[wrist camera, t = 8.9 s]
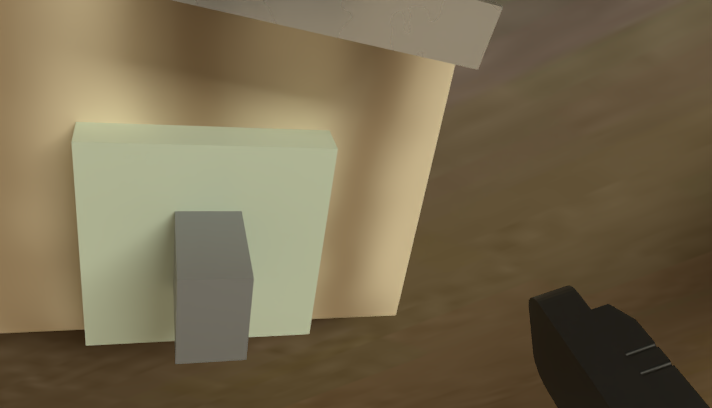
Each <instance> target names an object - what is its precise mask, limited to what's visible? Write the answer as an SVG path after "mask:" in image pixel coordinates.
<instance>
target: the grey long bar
mask: <svg viewBox="0 0 712 408" xmlns="http://www.w3.org/2000/svg"><path fill="white" fill-rule="evenodd" d="M173 1H177V2H182V3H186V4H190V5H195V6H199V7H204V8H208V9H213V10H217V11H221V12H226V13H230V14H235V15H239V16H243V17H248V18H252V19H257V20H261V21H265V22H270V23H274V24H279V25H283V26H288V27H292V28H296V29H301V30H305V31H310V32H314V33H318V34H323V35H327V36H332V37H336V38H340V39H345V40H349V41H354V42H358V43H363V44H367V45H371V46H376V47H380V48H385V49H389V50H393V51H398V52H402V53H407V54H411V55H415V56H420V57H424V58H429V59H433V60H438V61H442V62H446V63H451V64H455V65H460V66H464V67H468V68H473V69H477V70H478V68H479V66H480V63H481V61H482V58H483V56H484V53H485V51H486V48H487V46H488V43H489V41H490V38H491V36H492V33H493V31H494V28H495V26H496V23H497V21H498V18H499V16H500V13H501V11H502V8H503V7H502V6H501V5H499V4H498V3H496V2H495V1H494V0H173Z"/></svg>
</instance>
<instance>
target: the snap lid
mask: <svg viewBox="0 0 712 408" xmlns="http://www.w3.org/2000/svg"><path fill="white" fill-rule="evenodd" d="M71 143H72V157H73V171H74V186H75V200H76V214H77V228H78V243H79V257H80V271H81V285H82V299H83V314H84V328H85V342H86V346H89V345H108V344H127V343H146V342H165V341H175V364H184V363H201V362H217V361H233V360H246V358H247V347H248V337H261V336H280V335H300V334H309V333H310V326H311V320H312V313H313V307H314V300H315V294H316V287H317V281H318V274H319V268H320V261H321V255H322V248H323V242H324V235H325V229H326V223H327V216H328V210H329V203H330V197H331V190H332V184H333V177H334V171H335V164H336V158H337V151H338V148H337V146H336V143H335V141H334V139H333V137H332V135H331V133H330V130H303V129H273V128H243V127H213V126H183V125H154V124H124V123H94V122H76V124H75V128H74V133H73V137H72V141H71Z"/></svg>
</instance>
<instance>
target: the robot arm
mask: <svg viewBox="0 0 712 408" xmlns="http://www.w3.org/2000/svg"><path fill="white" fill-rule="evenodd" d="M529 313H530V324H531V334H532V345H533V354H534V359H535V363H536V366H537V369H538V372H539V375H540V377H541V379H542V381H543V383H544V385H545V387H546V389H547V390H548V392H549V394H550V395H551V397H552V399H553V400H554V402H555V404H556V405H557V407H558V408H710V407H709V406H708V405H707V404H706V403H705V401H704V400H703V399H702V398H701V397H700V396H699V394H698V393H697V392H696V391H695V390H694V388H693V387H692V386H691V385H690V384H689V382H688V381H687V380H686V379H685V378H684V377H683V375H682V374H681V373H680V372H679V371H678V369H677V368H676V367H675V366H672V364H671V362H670V360H669V359H668V357H667V356H666V355H665V354H664V353H663V352H662V350H661V349H660V348H659V347H656V345H655V342H654V341H653V340H652V338H651V337H650V336H649V335H648V334H647V333H646V331H645V330H644V329H643V328H642V327H641V325H640V324H639V323H638V322H637V321H636V320H635V319H633V318H632V317H630V316H628V315H627V314H625V313H623V312H621V311H620V310H618V309H616V308H615V307H613V306H611V305H609V304H607V305H604V306H601V307H598V308H595V309H592V310H591V309H590V308H589V306H588V305H587V304H586V302H585V301H584V300H583V299H582V297H581V296H580V295H579V293H578V292H577V291H576V290H575V289H574V288H573V287H571V286H565V287H562V288H559V289H556V290H553V291H550V292H547V293H544V294H541V295H538V296H535V297H532V298H530V299H529Z"/></svg>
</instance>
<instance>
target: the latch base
mask: <svg viewBox="0 0 712 408" xmlns="http://www.w3.org/2000/svg"><path fill="white" fill-rule="evenodd" d="M454 67H455V64H451V63H446V62H442V61H438V60H433V59H429V58H424V57H420V56H415V55H411V54H407V53H402V52H398V51H393V50H389V49H385V48H380V47H376V46H371V45H367V44H363V43H358V42H354V41H349V40H345V39H340V38H336V37H332V36H327V35H323V34H318V33H314V32H310V31H305V30H301V29H296V28H292V27H288V26H283V25H279V24H274V23H270V22H265V21H261V20H257V19H252V18H248V17H243V16H239V15H235V14H230V13H226V12H221V11H217V10H213V9H208V8H204V7H199V6H195V5H190V4H186V3H182V2H177V1H173V0H0V333H18V332H40V331H62V330H84V329H85V328H84V314H83V299H82V285H81V271H80V257H79V243H78V228H77V214H76V200H75V186H74V171H73V157H72V143H71V141H72V137H73V133H74V128H75V124H76V122H94V123H124V124H154V125H183V126H213V127H243V128H273V129H303V130H330V133H331V135H332V137H333V139H334V141H335V143H336V146H337V148H338V151H337V158H336V164H335V171H334V177H333V184H332V190H331V197H330V203H329V210H328V216H327V223H326V229H325V235H324V242H323V248H322V255H321V261H320V268H319V274H318V281H317V287H316V294H315V300H314V307H313V313H312V319H324V318H345V317H367V316H389V315H396V312H397V308H398V304H399V300H400V295H401V291H402V287H403V283H404V279H405V274H406V270H407V266H408V262H409V257H410V253H411V249H412V245H413V241H414V236H415V232H416V228H417V224H418V219H419V215H420V211H421V207H422V203H423V198H424V194H425V190H426V186H427V181H428V177H429V173H430V169H431V165H432V160H433V156H434V152H435V148H436V143H437V139H438V135H439V131H440V127H441V122H442V118H443V114H444V110H445V105H446V101H447V97H448V93H449V89H450V84H451V80H452V76H453V72H454Z"/></svg>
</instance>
